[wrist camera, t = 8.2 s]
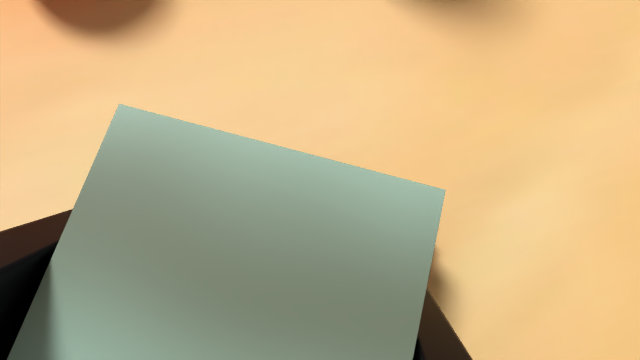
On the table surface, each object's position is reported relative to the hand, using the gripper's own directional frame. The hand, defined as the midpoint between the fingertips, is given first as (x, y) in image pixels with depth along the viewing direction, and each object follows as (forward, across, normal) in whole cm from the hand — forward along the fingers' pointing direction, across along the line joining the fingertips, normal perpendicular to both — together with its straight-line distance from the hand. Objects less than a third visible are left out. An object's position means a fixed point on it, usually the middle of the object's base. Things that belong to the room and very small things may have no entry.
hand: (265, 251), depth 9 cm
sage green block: (+4, 0, +6) cm, 7 cm away
